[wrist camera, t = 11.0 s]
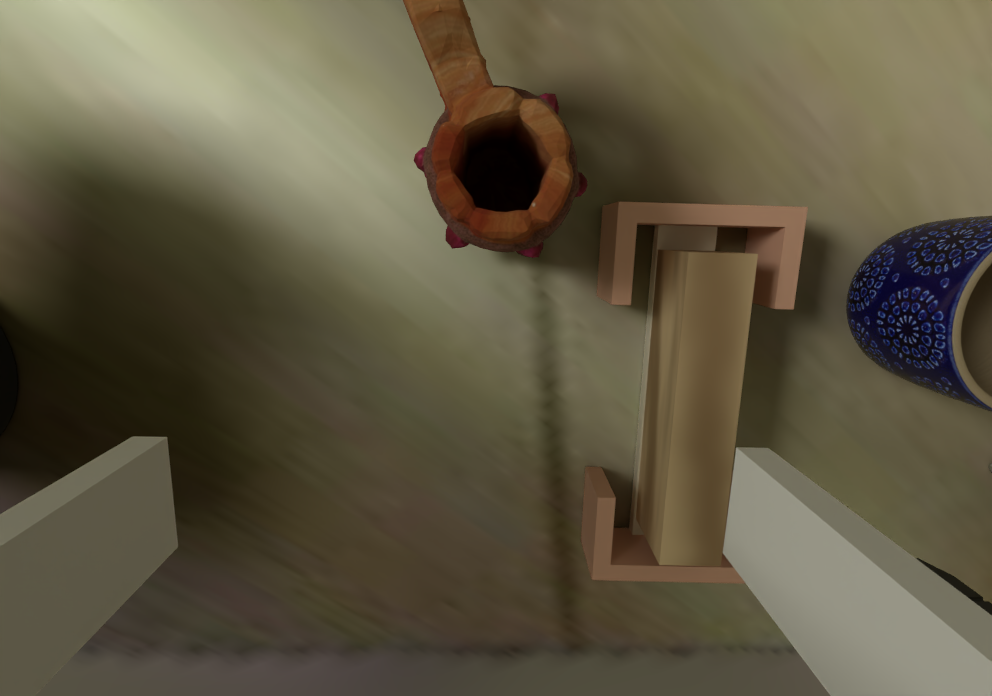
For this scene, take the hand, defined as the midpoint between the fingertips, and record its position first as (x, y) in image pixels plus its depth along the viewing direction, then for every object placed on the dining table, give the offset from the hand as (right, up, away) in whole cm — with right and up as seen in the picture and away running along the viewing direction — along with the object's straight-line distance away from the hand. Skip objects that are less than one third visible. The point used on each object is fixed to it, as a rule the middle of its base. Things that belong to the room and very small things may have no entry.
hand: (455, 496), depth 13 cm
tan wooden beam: (+14, 0, +27) cm, 30 cm away
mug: (0, +17, +24) cm, 30 cm away
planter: (+30, +7, +27) cm, 41 cm away
